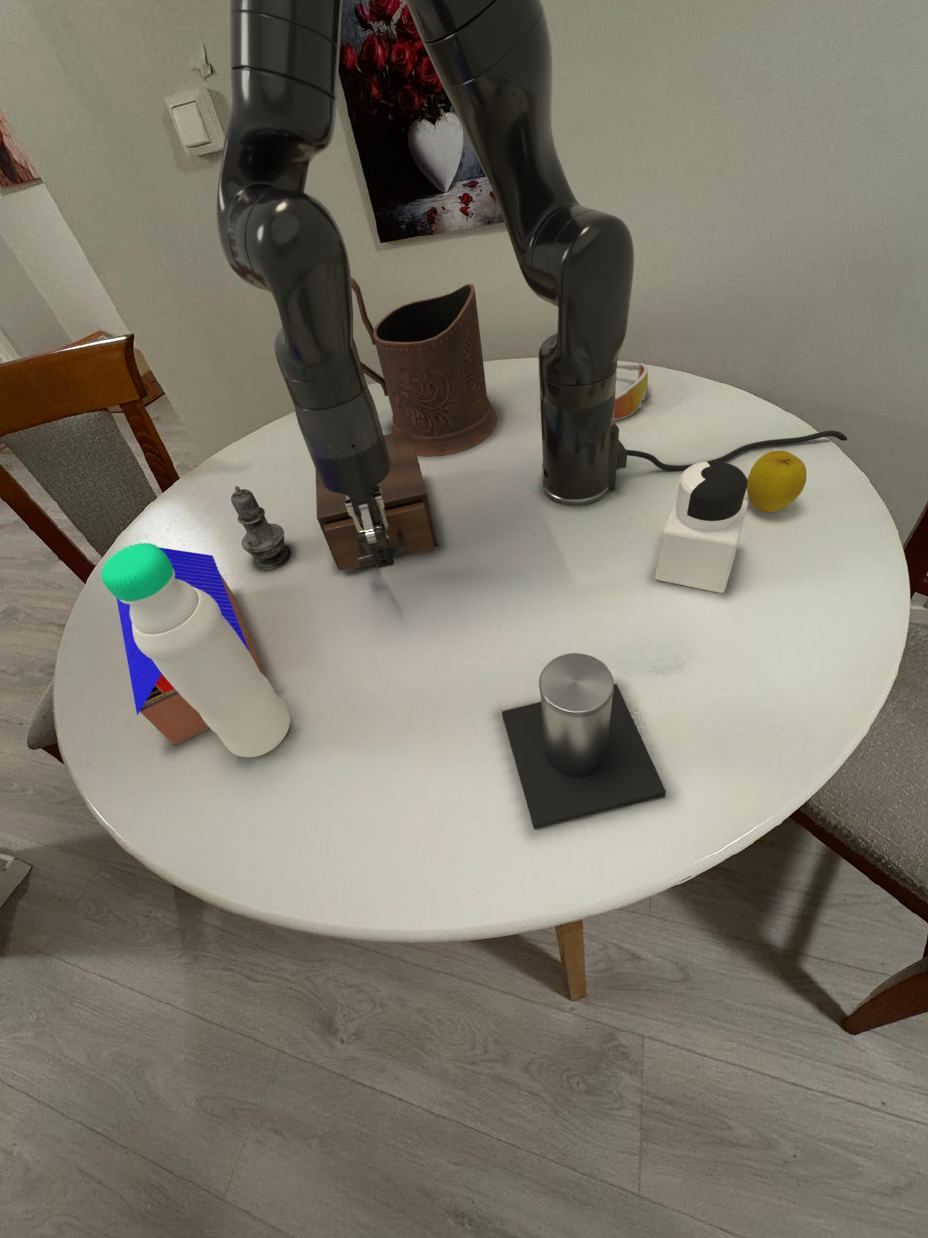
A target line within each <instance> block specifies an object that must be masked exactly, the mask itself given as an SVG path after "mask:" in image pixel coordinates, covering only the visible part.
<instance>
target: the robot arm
mask: <svg viewBox="0 0 928 1238" xmlns="http://www.w3.org/2000/svg"><path fill="white" fill-rule="evenodd" d="M343 2H344V0H229V55H230V56H229V58H230V59H229V61H230V63H229V64H230V65H229V66H230V90H231V91H230V92H231V102H230V103H231V105H230V113H229V118H228V122H227V126H226V131H225V135H224V141H223V149H222V155H221V162H220V163H221V164H220V170H219V176H218V182H217V183H218V184H217V192H216V226H217V233H218V238H219V242H220V247H221V250H222V252H223V255H224V257H225V260H226V261H227V263H228V265H229V267H230V268H231V269H232V271H233V272H234V273H235V275H237V276H238V277H239V278H240V279H241V280H242V281H243V282H245V283H247V284H248V285H250V286H253V287H254V288H257V289H260V290H263V291H265V292H269V293H270V294H271V295H272V297H273V299H274V302H275V304H276V307H277V311H278V315H279V319H280V322H281V323H280V324H281V328H280V329H279V331H278V332H277V333H276V335H275V337H274V343H273V347H274V353H275V358H276V362H277V364H278V367H279V370H280V373H281V375H282V378H283V380H284V383H285V386H286V389H287V391H288V393H289V396H290V399H291V401H292V404H293V407H294V408H293V409H294V411H295V416H296V419H297V424H298V427H299V430H300V432H301V435H302V437H303V440H304V443H305V445H306V448H307V451H308V453H309V456H310V458H311V460H312V461H311V462H312V464H313V466H314V469H316V471H317V474H318V476H319V479H320V482H321V484H322V485H323V486H324V487H325V488H326V489H327V490H329V491H331V492H334V493H337V494H343V495H345V496H346V500H344V501H345V506H346V509H347V511H348V514H349V515H350V516H351V517H352V518H353V521H354V523H355V526H356V529H357V531H358V536H357V538H358V541H360V543H361V545H362V546H363V547H364V549H365V550H366V551H367V552H368V553H369V552H372V555H373V558H374V561H375V563H374V565H375V567H376V568H378V569H382V568H387V567H391V566H394V565H395V559H394V557H393V552H392V549H391V546H390V543H389V535H387V530H388V523H387V518H386V511H385V506H384V501H383V497H382V490H381V485H380V483H381V482H382V481H383V480H384V479H385V478H386V476H387V475H388V473H389V471H390V467H391V461H390V458H389V454H388V450H387V447H386V443H385V439H384V436H383V435H384V432H383V428H382V425H381V422H380V418H379V414H378V410H377V407H376V403H375V400H374V398H373V395H372V393H371V391H370V388H369V387H368V383H367V380H366V377H365V373H364V372H363V369H362V365H361V362H362V361H361V358H360V355H359V351H358V348H357V345H356V341H355V339H354V306H353V305H354V304H353V289H352V286H351V277H352V273H351V272H352V271H351V264H350V259H349V254H348V249H347V246H346V242H345V241H344V238H343V235H342V232H341V229H340V227H339V226H338V223H337V222H336V220H335V218H334V217H333V215H332V213H331V212H330V210H329V209H328V208H327V207H326V206H325V205H324V204H323V203H322V202H321V201H320V200H319V199H317V198H316V197H315V196H312V195H311V194H309V193H306V192H305V189H306V184H307V178H308V171H309V167H310V164H311V162H312V160H313V159H314V158H315V157H317V156H318V155H320V154H321V153H323V152H324V151H326V150H327V149H328V148H329V146H330V144H331V143H332V140H333V136H334V132H335V125H336V117H337V101H338V100H337V99H338V85H339V82H338V81H339V68H340V67H339V66H340V53H341V35H342V34H341V33H342V18H343V4H344V3H343ZM404 2H405V3H406V6H407V8H408V10H409V13H410V15H411V18H412V21H413V23H414V26H415V28H416V30H417V33H418V36H419V38H420V39H421V41H422V44H423V47H424V48H425V50H426V53H427V55H428V57H429V59H430V62H431V63H432V66H433V68H434V70H435V73H436V75H437V76H438V79H439V82H440V83H441V85H442V87H443V90H444V91H445V94H446V96H447V97H448V100H449V101H450V103H451V105H452V107H453V109H454V112H455V113H456V116H457V118H458V120H459V123H460V124H461V126H462V128H463V130H464V133H465V135H466V137H467V140H468V142H469V144H470V146H471V148H472V150H473V153H474V155H475V156H476V158H477V159H476V160H477V161H478V163H479V165H480V167H481V169H482V171H483V173H484V175H485V177H486V179H487V180H488V183H489V186H490V188H491V190H492V193H493V195H494V197H495V199H496V202H497V205H498V207H499V210H500V213H501V216H502V219H503V222H504V224H505V227H506V228H505V229H506V231H507V233H508V236H509V239H510V242H511V245H512V249H513V251H514V254H515V258H516V261H517V264H518V266H519V268H520V272H521V274H522V276H523V278H524V281H525V282H526V284H527V286H528V287H529V289H530V290H531V291H532V292H533V293H534V294H535V295H536V296H537V297H538V298H540V299H542V300H543V301H545V302H546V303H549V304H551V305H552V306H555V307H557V332H556V333H554V334H552V335H550V336H549V337H547V338H546V339H544V341H543V342H542V343H541V344H540V347H539V349H538V357H537V358H538V375H539V376H538V382H539V405H540V426H541V427H540V429H541V451H542V465H541V467H542V468H541V474H542V475H541V477H542V478H541V479H542V488H543V492H544V494H545V495H546V497H548V498H549V500H551V501H553V502H555V503H558V504H561V505H564V506H565V505H566V506H576V507H577V506H585V505H586V506H587V505H589V504H593V503H596V502H597V501H599V500H601V499H603V498H604V497H605V496H606V495H607V494H608V493H609V492H614V491H616V483H617V471H618V470H622V469H625V468H626V469H627V461H628V456H629V457H636V458H642V459H644V460H648V461H649V462H651V463H653V465H654V466H656V467H657V468H658V469H660V470H663V471H664V470H665V471H671V472H684V471H685V470H686V469H687V468H689V467H690V466H692V465H694V464H695V463H691V464H682V465H680V464H679V465H675V464H668V463H663V462H662V461H660V460H659V459H658V458H657V457H656V456H654V455H653V454H651V453H648V452H644V451H640V450H633V449H626V448H625V446H624V445H623V442H621V440H620V428H619V426H618V425H617V423H616V422H615V420H614V409H615V397H616V387H617V372H618V368H617V365H618V361H619V359H618V357H619V354H620V351H621V349H622V346H623V343H624V342H625V338H626V334H627V331H628V330H627V329H628V323H629V315H630V314H629V313H630V306H631V298H632V288H633V281H634V271H635V249H634V248H635V247H634V241H633V237H632V233H631V231H630V228H629V227H628V225H627V224H626V223H625V222H624V220H622V219H621V218H619V217H617V216H616V215H614V214H610V213H608V212H604V211H600V210H596V209H594V208H590V207H587V206H586V207H585V206H583V205H581V203H580V202H579V201H578V199H577V197H576V196H575V194H574V192H573V190H572V188H571V185H570V183H569V181H568V179H567V177H566V174H565V171H564V168H563V165H562V163H561V161H560V160H561V159H560V158H559V155H558V152H557V148H556V144H555V140H554V135H553V134H554V133H553V128H552V97H553V52H552V41H551V35H550V29H549V25H548V21H547V15H546V12H545V9H544V6H543V3H542V0H404ZM360 361H361V362H360ZM826 437H827V438H828V437H833V438H836V439H838V440H839V441H843V442H844V441H848V437H847V436H846V434H844V433H843V432H840V431H837V430H825V431H824V430H823V431H820V432H815V433H812V434H808V435H803V436H797V437H788V438H787V437H785V438H778V439H777V438H775V439H766V440H761V441H756V442H751V443H748V444H745V445H742V446H739V447H737V448H736V449H734V450H732V451H730V452H729V453H727V454H725V455H722V456H720V457H717V458H714V459H710V460H709V461H720V462H725V463H726V462H727V461H729V460H731V459H733V458H734V457H736V456H738V455H740V454H742V453H744V452H747V451H749V450H753V449H758V448H762V447H768V446H770V447H771V446H779V445H780V446H781V445H791V444H797V443H798V444H800V443H806V442H810V441H814V440H817V439H821V438H826Z"/></svg>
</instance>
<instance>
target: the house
mask: <svg viewBox="0 0 928 1238" xmlns="http://www.w3.org/2000/svg"><path fill="white" fill-rule="evenodd" d="M158 547H159V546H158ZM159 548H160V549H161V550H162V551H163V552H164V553H165V554H166V556H167V557H168V559H169V560H170V562H171V564H172V567H173V569H174V571H175V579H178V580H182V581H184V582H186V583H188V584H190V585H191V586H192V587H195V588H197V589H199V590H202V591H203V592H205V593H207V594H208V595H210V596H211V597H212V598H213V599H214V600H215V601H216V603H217V604H218V606H219V608H220V610H221V614H222V616H223V617H224V618H225V619H226V620H227V622H228V623H229V624H230V625H231V627H232V628H233V629H234V631H235V632H236V633H237V635H238V636H239V638H240V639H241V641H242V642H243V644H244V645H245V647H246V648H247V650H248V651H249V653H250V654H251V656H252V658H253V659H254V661H255V663H256V665H257V667H258V669H259V671H260V672H261V673H262V674H263V675H264V676H265V677H266V678H267V676H266V673H265V670H264V668H263V666H262V663H261V660H260V658H259V656H258V653H257V650H256V648H255V645H254V643H253V640H252V638H251V635H250V633H249V629H248V628H247V625H246V623H245V619H244V618H243V615H242V612H241V610H240V607H239V605H238V602H237V600H236V597H235V594H234V593H233V591H232V590H231V588H230V587H229V585H228V583H227V582H226V580H225V579H224V577H223V576H222V575H223V574H221V572H220V570H219V567H218V565H217V562H216V560H215V558H214V556H213V555H212V554H206V553H200V552H199V553H198V552H193V551H185V550H179V549H172V548H167V547H166V548H165V547H159ZM116 605H117V610H118V614H119V615H118V616H119V621H120V625H121V632H122V637H123V643H124V649H125V654H126V660H127V666H128V673H129V677H130V683H131V690H132V695H133V701H134V706H135V711H136V712H135V713H136V716H139V713H140V714H142V716H143V717H144V718H145V719H146V720H147V721H148V722H149V723H151V724H152V725H153V726H154V727H155V729H156V730H158V731H159V732H160V733H161V734H162V735H163V736H164V737H165V739H167V741H169V743H170V744H172V745H173V746H176V745H178V744H180V743H181V742H183V741H186V740H187V739H189V738H192V737H193V736H195V735H198V734H199V733H201V732H203V731H206V730H207V729H210V728H209V726H208V725H207V724H206V723H205V722H204V720H203V719H202V717H201V715H200V713H199V712H197V711H196V710H195V709H194V708H193V707H192V706H191V705H190V704H189V703H188V702H187V701H186V700H185V699H184V698H183V697H182V696H181V695H180V694H179V693H178V692H177V691H176V689H175V688H174V687H173V686H172V685H171V684H170V683H169V681H168V680H167V679H166V678H165V677H164V675H163V674H162V673H161V671H160V670H159V669H158V667H157V666H156V665H155V663H154V662H153V660H152V659H151V658H149V657H147V656H146V655H145V654H144V653H142V651H141V650H140V649H139V648H138V646H137V645H136V643H135V640H134V637H133V630H132V621H131V618H130V604H126V603H123V602H121V601H120V600H119V599H118V598H116Z"/></svg>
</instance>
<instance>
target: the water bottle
mask: <svg viewBox="0 0 928 1238" xmlns="http://www.w3.org/2000/svg"><path fill="white" fill-rule="evenodd" d="M160 548H161V547H160ZM160 548H159V546H157V545H156V544H153V543H150V542H143V543H142V542H140V543H135V544H131V545H128V546H125V547H124V548H121V549H120V550H117V551H116V553H113V554H112V555H111V556H110V557H109V558H108V559H107V560H106V562H105V563H104V564H103V566H102V570H101V574H100V575H101V580H102V583H103V585H104V586H105V587H106V589H107V590H108V591H109V592H110V593H111V594H112V596H114V598H116V599H117V598H118V599H119V600H120V601H121V602H123V603H126V604H130V618H131V621H132V630H133V637H134V640H135V643H136V645H137V646H138V648H139V649H140V650H141V651H142V653H144V654H145V655H146V656H147V657H149V658H151V659H152V660H153V662H154V663H155V665H156V666H157V667H158V669H159V670H160V671H161V673H162V674H163V675H164V677H165V678H166V679H167V680H168V681H169V683H170V684H171V685H172V686H173V687H174V688H175V689H176V691H177V692H178V693H179V694H180V695H181V696H182V697H183V698H184V699H185V700H186V701H187V702H188V703H189V704H190V705H191V706H192V707H193V708H194V709H195V710H196V711H197V712H199V713H200V715H201V717H202V719H203V720H204V722H205V723H206V724H207V725H208V726H209V728H208V729H210V730H211V731H212V732H213V733H215V734H216V735H217V737H218V738H219V739H220V741H221V742H222V744H223V745H224V746H225V748H226V749H227V750H229V751H230V752H231V753H232V754H234V755H235V756H237V757H240V758H248V759H249V758H256V757H260V756H264V755H265V754H267V753H270V752H271V751H272V750H274V749H275V748H276V747H277V746H278V745H280V743H282V741H283V740H284V739H285V738H286V735H287V733H288V731H289V728H290V726H291V725H290V723H291V716H290V711H289V709H288V708H287V706H286V704H285V702H284V701H283V700H282V699H281V698H280V696H279V695H278V694H277V693H276V692H275V690H274V688H273V686H272V684H271V682H270V681H269V680H268V678H267V676H266V675H265V676H266V677H265V676H264V675H263V674H262V673H261V672H260V671H259V669H258V667H257V665H256V663H255V661H254V659H253V658H252V656H251V654H250V653H249V651H248V650H247V648H246V647H245V645H244V644H243V642H242V641H241V639H240V638H239V636H238V635H237V633H236V632H235V631H234V629H233V628H232V627H231V625H230V624H229V623H228V622H227V620H226V619H225V618H224V617H223V616H222V614H221V610H220V608H219V606H218V604H217V603H216V601H215V600H214V599H213V598H212V597H211V596H210V595H208V594H207V593H205V592H203V591H202V590H199V589H197V588H195V587H192V586H191V585H190V584H188V583H186V582H184V581H182V580H178V579H175V571H174V569H173V567H172V564H171V562H170V560H169V559H168V557H167V556H166V554H165V553H164V552H163V551H162V550H161V549H160Z"/></svg>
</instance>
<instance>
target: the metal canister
mask: <svg viewBox="0 0 928 1238" xmlns="http://www.w3.org/2000/svg"><path fill="white" fill-rule="evenodd" d="M613 676H614V675H613V674H612V672H611V670H610V669H609V667H608V666H607V665H606V664H605V663H604V662H602V661H601V660H600V659H598V658H596V657H594V656H592V655H589V654H585V653H580V652H579V653H578V652H577V653H575V652H573V653H565V654H562V655H560V656H557V657H555V658H553V659H552V660H550V661H549V662H548V663H547V664H546V665H545V666H544V667H543V669H542V671H541V673H540V675H539V681H538V685H539V686H538V687H539V694H540V702H541V708H542V722H543V736H544V750H545V755H546V758H547V760H548V762H549V763H550V765H551V766H552V767H553V768H554V769H555V770H557V771H558V772H560V773H562V774H564V775H567V776H571V777H584V776H588V775H590V774H593V773H594V772H596V771H597V770H598V769H600V768H601V766H602V765H603V764H604V762H605V760H606V756H607V749H608V738H609V727H610V717H611V706H612V696H613V691H614V684H615V681H614V677H613Z"/></svg>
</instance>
